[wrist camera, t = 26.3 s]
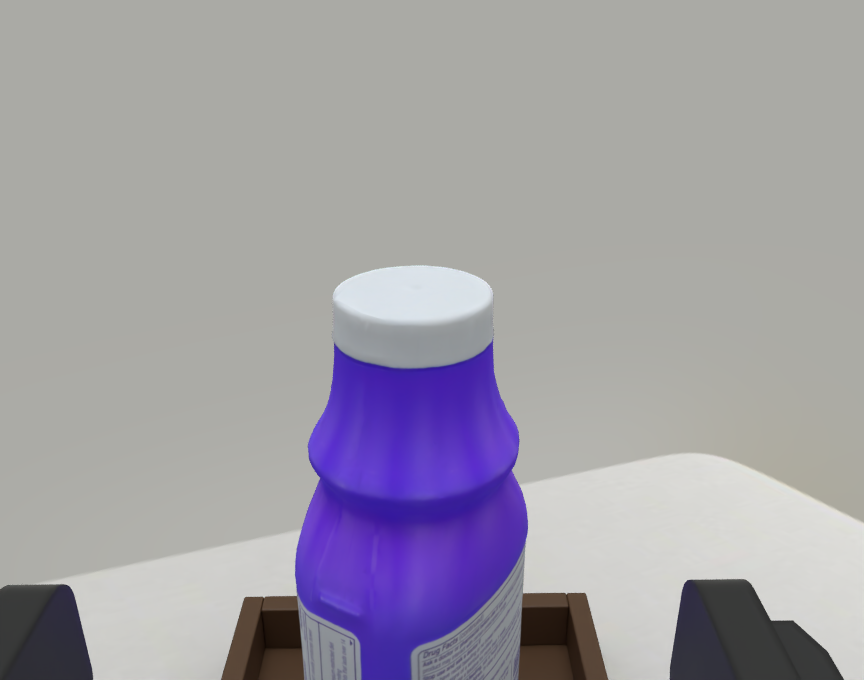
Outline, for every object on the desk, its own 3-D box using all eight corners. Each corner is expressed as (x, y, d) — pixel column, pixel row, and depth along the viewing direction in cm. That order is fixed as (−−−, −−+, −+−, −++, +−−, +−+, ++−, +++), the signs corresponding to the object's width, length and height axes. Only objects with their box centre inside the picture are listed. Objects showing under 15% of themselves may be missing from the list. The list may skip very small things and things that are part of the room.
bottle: (409, 667, 32) (397, 234, 25) (543, 733, 29) (574, 266, 22) (282, 817, 26) (219, 314, 19) (433, 916, 23) (426, 371, 16)
